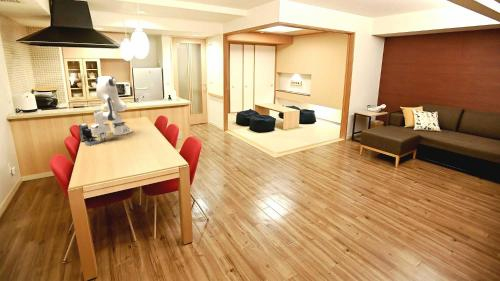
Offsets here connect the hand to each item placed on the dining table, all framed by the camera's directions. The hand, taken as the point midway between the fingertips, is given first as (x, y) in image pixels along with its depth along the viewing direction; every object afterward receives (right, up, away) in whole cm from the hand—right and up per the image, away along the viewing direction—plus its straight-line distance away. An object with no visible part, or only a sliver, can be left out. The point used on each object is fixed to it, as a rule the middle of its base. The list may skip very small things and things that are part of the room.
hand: (102, 136), depth 298 cm
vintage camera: (-16, -5, +3) cm, 17 cm away
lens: (0, -3, +1) cm, 3 cm away
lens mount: (-7, -8, -9) cm, 14 cm away
